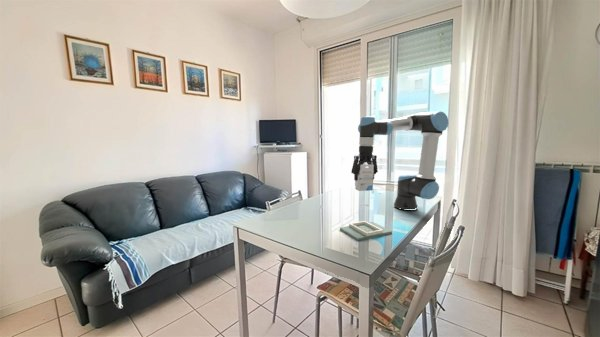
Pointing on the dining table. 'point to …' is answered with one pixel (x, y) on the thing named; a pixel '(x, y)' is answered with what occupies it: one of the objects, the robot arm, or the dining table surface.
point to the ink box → (365, 178)
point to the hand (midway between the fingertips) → (363, 185)
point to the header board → (365, 230)
